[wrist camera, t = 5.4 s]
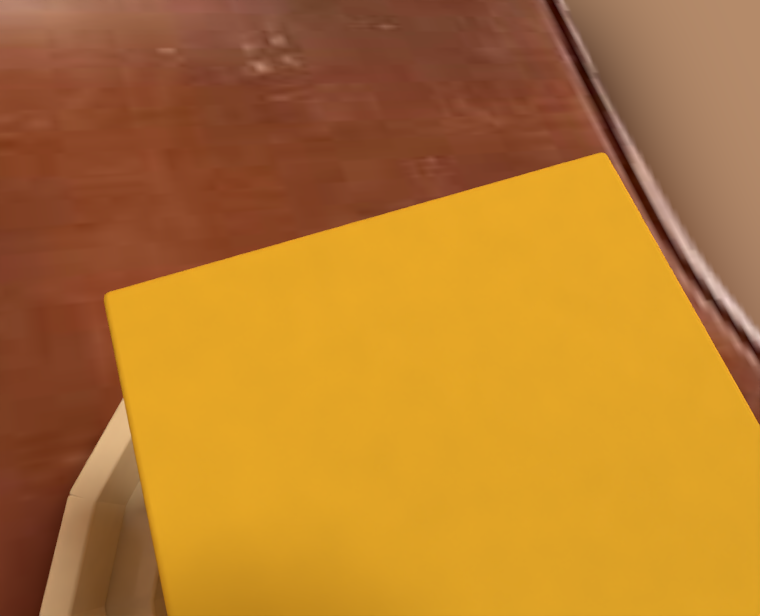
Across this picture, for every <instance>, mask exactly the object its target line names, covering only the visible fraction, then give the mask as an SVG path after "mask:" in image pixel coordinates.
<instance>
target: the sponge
mask: <svg viewBox="0 0 760 616" xmlns="http://www.w3.org/2000/svg"><path fill="white" fill-rule="evenodd" d="M104 305H105V310H106V315H107V320H108V325H109V330H110V335H111V340H112V344H113V349H114V354H115V359H116V364H117V369H118V374H119V379H120V384H121V389H122V394H123V399H124V404H125V409H126V414H127V419H128V424H129V428H130V433H131V438H132V443H133V448H134V453H135V458H136V463H137V468H138V473H139V478H140V483H141V488H142V493H143V498H144V503H145V508H146V512H147V517H148V522H149V527H150V532H151V537H152V542H153V547H154V552H155V557H156V562H157V567H158V572H159V577H160V582H161V587H162V591H163V596H164V601H165V606H166V611H167V616H760V425H759V423H758V422H757V420H756V418H755V416H754V415H753V413H752V411H751V409H750V408H749V406H748V404H747V402H746V400H745V399H744V397H743V395H742V393H741V392H740V390H739V388H738V386H737V385H736V383H735V381H734V379H733V377H732V376H731V374H730V372H729V370H728V369H727V367H726V365H725V363H724V361H723V360H722V358H721V356H720V354H719V353H718V351H717V349H716V347H715V346H714V344H713V342H712V340H711V338H710V337H709V335H708V333H707V331H706V330H705V328H704V326H703V324H702V323H701V321H700V319H699V317H698V315H697V314H696V312H695V310H694V308H693V307H692V305H691V303H690V301H689V299H688V298H687V296H686V294H685V292H684V291H683V289H682V287H681V285H680V284H679V282H678V280H677V278H676V276H675V275H674V273H673V271H672V269H671V268H670V266H669V264H668V262H667V261H666V259H665V257H664V255H663V253H662V252H661V250H660V248H659V246H658V245H657V243H656V241H655V239H654V238H653V236H652V234H651V232H650V230H649V229H648V227H647V225H646V223H645V222H644V220H643V218H642V216H641V214H640V213H639V211H638V209H637V207H636V206H635V204H634V202H633V200H632V199H631V197H630V195H629V193H628V191H627V190H626V188H625V186H624V184H623V183H622V181H621V179H620V177H619V176H618V174H617V172H616V170H615V168H614V167H613V165H612V163H611V161H610V160H609V158H608V156H607V155H606V154H605V153H597V154H594V155H590V156H587V157H583V158H580V159H576V160H573V161H569V162H566V163H562V164H559V165H555V166H551V167H548V168H544V169H541V170H537V171H534V172H530V173H527V174H523V175H520V176H516V177H513V178H509V179H506V180H502V181H499V182H495V183H492V184H488V185H485V186H481V187H477V188H474V189H470V190H467V191H463V192H460V193H456V194H453V195H449V196H446V197H442V198H439V199H435V200H432V201H428V202H425V203H421V204H418V205H414V206H411V207H407V208H403V209H400V210H396V211H393V212H389V213H386V214H382V215H379V216H375V217H372V218H368V219H365V220H361V221H358V222H354V223H351V224H347V225H344V226H340V227H337V228H333V229H329V230H326V231H322V232H319V233H315V234H312V235H308V236H305V237H301V238H298V239H294V240H291V241H287V242H284V243H280V244H277V245H273V246H270V247H266V248H263V249H259V250H256V251H252V252H248V253H245V254H241V255H238V256H234V257H231V258H227V259H224V260H220V261H217V262H213V263H210V264H206V265H203V266H199V267H196V268H192V269H189V270H185V271H182V272H178V273H174V274H171V275H167V276H164V277H160V278H157V279H153V280H150V281H146V282H143V283H139V284H136V285H132V286H129V287H125V288H122V289H118V290H115V291H111V292H108V293H107V294H105V296H104Z"/></svg>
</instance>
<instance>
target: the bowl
mask: <svg viewBox="0 0 760 616" xmlns="http://www.w3.org/2000/svg"><path fill="white" fill-rule="evenodd" d="M69 494H70V496H69V497H68V499H67V503H66V507H65V511H64V515H63V519H62V523H61V527H60V531H59V535H58V540H57V544H56V548H55V552H54V556H53V560H52V564H51V568H50V572H49V577H48V581H47V585H46V589H45V593H44V597H43V601H42V605H41V609H40V614H39V616H167V611H166V606H165V601H164V596H163V591H162V587H161V582H160V577H159V572H158V567H157V562H156V557H155V552H154V547H153V542H152V537H151V532H150V527H149V522H148V517H147V512H146V508H145V503H144V498H143V493H142V488H141V483H140V478H139V473H138V468H137V463H136V458H135V453H134V448H133V443H132V438H131V433H130V428H129V424H128V419H127V414H126V409H125V404H124V399H122V401H121V403H120V404H119V406H118V408H117V410H116V411H115V413H114V415H113V417H112V418H111V420H110V422H109V424H108V425H107V427H106V429H105V431H104V433H103V434H102V436H101V438H100V440H99V441H98V443H97V445H96V447H95V448H94V450H93V452H92V454H91V455H90V457H89V459H88V461H87V462H86V464H85V466H84V468H83V469H82V471H81V473H80V475H79V476H78V478H77V480H76V482H75V483H74V485H73V487H72V489H71V490H70V493H69Z"/></svg>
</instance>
